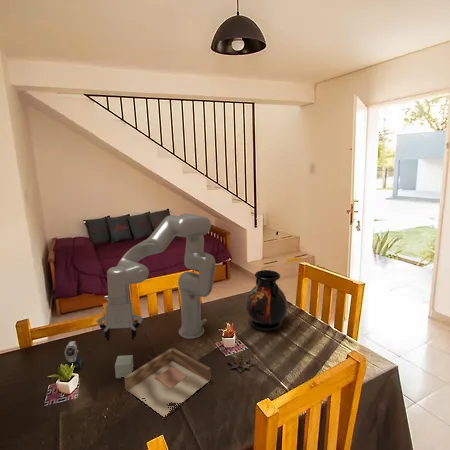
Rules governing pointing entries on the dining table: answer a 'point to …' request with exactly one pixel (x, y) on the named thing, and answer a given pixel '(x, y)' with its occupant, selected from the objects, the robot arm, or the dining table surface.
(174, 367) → the tray
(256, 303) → the amphora vase
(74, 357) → the watch
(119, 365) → the cube
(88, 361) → the dining table surface
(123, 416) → the dining table surface
